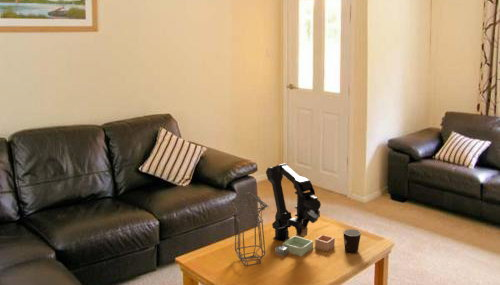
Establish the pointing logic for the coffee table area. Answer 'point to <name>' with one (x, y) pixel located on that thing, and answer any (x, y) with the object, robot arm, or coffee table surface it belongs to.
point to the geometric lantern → (249, 223)
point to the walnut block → (302, 232)
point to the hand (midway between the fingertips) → (301, 233)
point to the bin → (298, 245)
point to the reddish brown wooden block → (281, 250)
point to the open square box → (324, 243)
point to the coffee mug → (351, 240)
